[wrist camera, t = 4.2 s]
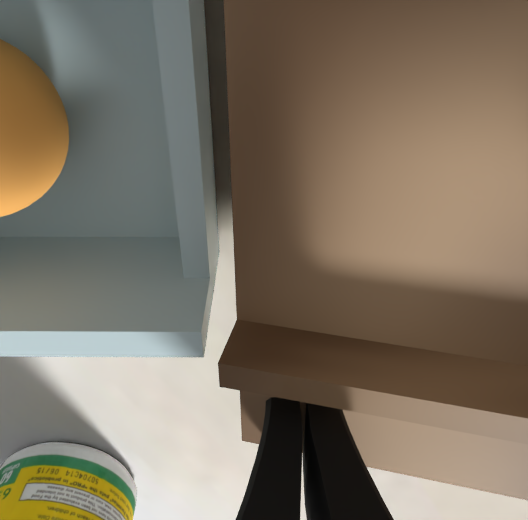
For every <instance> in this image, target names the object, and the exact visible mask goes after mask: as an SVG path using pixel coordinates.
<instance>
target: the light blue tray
mask: <svg viewBox="0 0 528 520" xmlns="http://www.w3.org/2000/svg"><path fill="white" fill-rule="evenodd" d="M0 39H1V40H3V41H5V42H7V43H9V44H11V45H13V46H14V47H16V48H17V49H19V50H20V51H22V52H23V53H25V54H26V55H27V56H28V57H29V58H31V59H32V60H33V61H34V62H35V63H36V64H37V65H38V66H39V67H40V68H41V69H42V70H43V72H44V73H45V74H46V75H47V77H48V78H49V79H50V81H51V82H52V84H53V85H54V87H55V88H56V90H57V92H58V94H59V96H60V98H61V100H62V103H63V105H64V108H65V111H66V115H67V119H68V125H69V146H68V152H67V156H66V160H65V163H64V166H63V168H62V171H61V173H60V174H59V176H58V178H57V179H56V181H55V182H54V184H53V185H52V186H51V188H50V189H49V190H48V191H47V192H46V193H45V194H44V195H43V196H42V197H41V198H39V199H38V200H36V201H35V202H34V203H32V204H31V205H29V206H28V207H26V208H24V209H22V210H19V211H17V212H15V213H13V214H10V215H6V216H2V217H0V356H13V357H204V352H205V345H206V338H207V332H208V325H209V318H210V311H211V305H212V298H213V291H214V285H215V278H216V271H217V264H218V258H219V237H218V221H217V204H216V188H215V172H214V156H213V140H212V124H211V108H210V91H209V75H208V59H207V43H206V27H205V11H204V0H0Z"/></svg>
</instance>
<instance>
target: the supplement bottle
mask: <svg viewBox="0 0 528 520" xmlns="http://www.w3.org/2000/svg"><path fill="white" fill-rule="evenodd" d="M136 501H137V488H136V485H135V482H134V480H133V478H132V477H131V475H130V474H129V472H128V471H127V469H126V468H125V467H124V466H123V465H122V464H121V463H120V462H119V461H117V460H116V459H115V458H113V457H112V456H110V455H109V454H107V453H105V452H103V451H100V450H98V449H95V448H91V447H88V446H84V445H80V444H73V443H65V442H47V443H41V444H36V445H33V446H30V447H27V448H24V449H22V450H20V451H18V452H16V453H14V454H12V455H11V456H10V457H8V458H7V459H6V461H5V462H4V463H3V465H2V466H1V468H0V520H133V515H134V511H135V506H136Z"/></svg>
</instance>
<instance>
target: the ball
mask: <svg viewBox="0 0 528 520" xmlns="http://www.w3.org/2000/svg"><path fill="white" fill-rule="evenodd" d="M68 146H69V125H68V119H67V115H66V111H65V108H64V105H63V103H62V100H61V98H60V96H59V94H58V92H57V90H56V88H55V87H54V85H53V84H52V82H51V81H50V79H49V78H48V77H47V75H46V74H45V73H44V72H43V70H42V69H41V68H40V67H39V66H38V65H37V64H36V63H35V62H34V61H33V60H32V59H31V58H29V57H28V56H27V55H26V54H25V53H23V52H22V51H20V50H19V49H17V48H16V47H14V46H13V45H11V44H9V43H7V42H5V41H3V40H1V39H0V217H2V216H6V215H10V214H13V213H15V212H17V211H19V210H22V209H24V208H26V207H28V206H29V205H31V204H32V203H34V202H35V201H36V200H38V199H39V198H41V197H42V196H43V195H44V194H45V193H46V192H47V191H48V190H49V189H50V188H51V186H52V185H53V184H54V182H55V181H56V179H57V178H58V176H59V174H60V173H61V171H62V168H63V166H64V163H65V160H66V156H67V152H68Z"/></svg>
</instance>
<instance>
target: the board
mask: <svg viewBox="0 0 528 520" xmlns="http://www.w3.org/2000/svg"><path fill="white" fill-rule="evenodd" d="M224 21H225V45H226V69H227V93H228V117H229V140H230V164H231V188H232V212H233V235H234V259H235V283H236V307H237V321H236V323H235V325H234V328H233V330H232V332H231V335H230V337H229V339H228V342H227V344H226V346H225V348H224V351H223V353H222V355H221V358H220V360H219V362H218V368H219V382H220V387H225V388H230V389H236V390H240V402H241V425H242V441H246V442H251V443H256V444H259V443H260V439H261V435H262V430H263V424H264V417H265V406H266V400H268V399H269V398H271V397H278V398H284V399H289V400H294V401H300V409H301V418H302V428H303V435H302V453H303V444H304V430H305V416H306V403H310V404H315V405H321V406H326V407H331V408H337V409H342V410H343V413H344V416H345V419H346V421H347V424H348V426H349V429H350V432H351V434H352V436H353V439H354V441H355V443H356V446H357V448H358V450H359V452H360V455H361V457H362V459H363V461H364V463H365V465H366V467H371V468H376V469H381V470H386V471H390V472H395V473H400V474H405V475H409V476H414V477H419V478H424V479H429V480H433V481H438V482H443V483H448V484H453V485H457V486H462V487H467V488H472V489H477V490H481V491H486V492H491V493H496V494H501V495H505V496H510V497H515V498H520V499H525V500H528V0H224Z"/></svg>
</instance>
